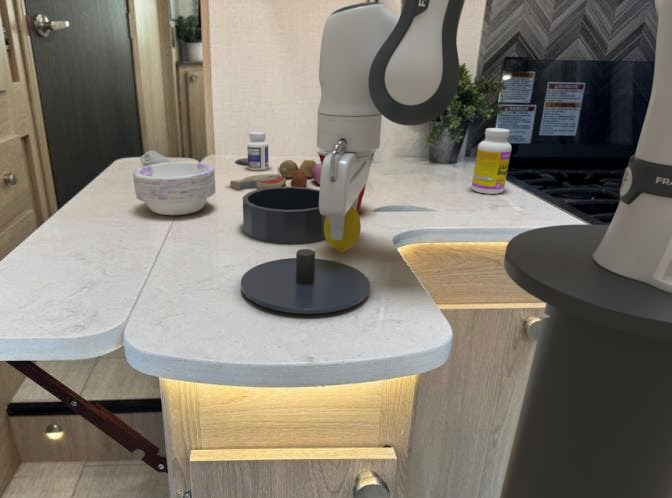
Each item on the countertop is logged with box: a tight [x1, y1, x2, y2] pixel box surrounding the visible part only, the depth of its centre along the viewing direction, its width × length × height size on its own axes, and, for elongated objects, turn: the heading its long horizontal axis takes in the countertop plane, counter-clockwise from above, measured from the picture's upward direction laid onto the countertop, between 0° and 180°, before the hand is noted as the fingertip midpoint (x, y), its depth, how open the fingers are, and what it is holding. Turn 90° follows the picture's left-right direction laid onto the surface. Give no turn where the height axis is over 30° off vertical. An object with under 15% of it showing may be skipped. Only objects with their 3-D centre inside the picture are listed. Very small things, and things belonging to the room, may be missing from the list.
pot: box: [242, 186, 327, 245], centre depth 94 cm, size 16×16×5 cm
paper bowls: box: [132, 161, 216, 216], centre depth 104 cm, size 15×15×8 cm
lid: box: [240, 248, 371, 315], centre depth 71 cm, size 17×17×5 cm
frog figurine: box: [139, 149, 171, 167], centre depth 125 cm, size 6×7×7 cm
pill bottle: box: [246, 131, 270, 171], centre depth 137 cm, size 5×5×9 cm
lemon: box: [324, 206, 362, 254], centre depth 82 cm, size 6×6×8 cm
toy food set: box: [229, 159, 322, 191], centre depth 124 cm, size 26×16×4 cm, turn 134°
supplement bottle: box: [471, 127, 513, 195], centre depth 115 cm, size 7×7×13 cm
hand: (343, 228), depth 82 cm, fingers open, 8 cm apart
